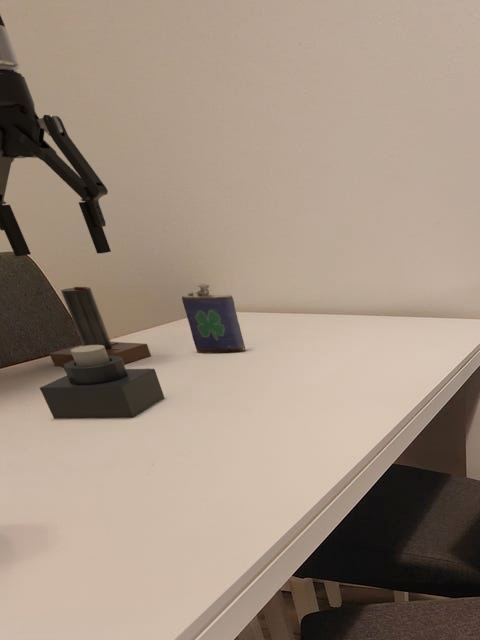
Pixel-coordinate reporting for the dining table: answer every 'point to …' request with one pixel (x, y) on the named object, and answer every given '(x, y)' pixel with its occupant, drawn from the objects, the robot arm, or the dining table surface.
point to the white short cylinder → (90, 355)
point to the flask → (213, 321)
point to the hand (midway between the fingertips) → (63, 254)
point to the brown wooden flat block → (120, 349)
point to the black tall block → (86, 316)
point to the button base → (102, 391)
